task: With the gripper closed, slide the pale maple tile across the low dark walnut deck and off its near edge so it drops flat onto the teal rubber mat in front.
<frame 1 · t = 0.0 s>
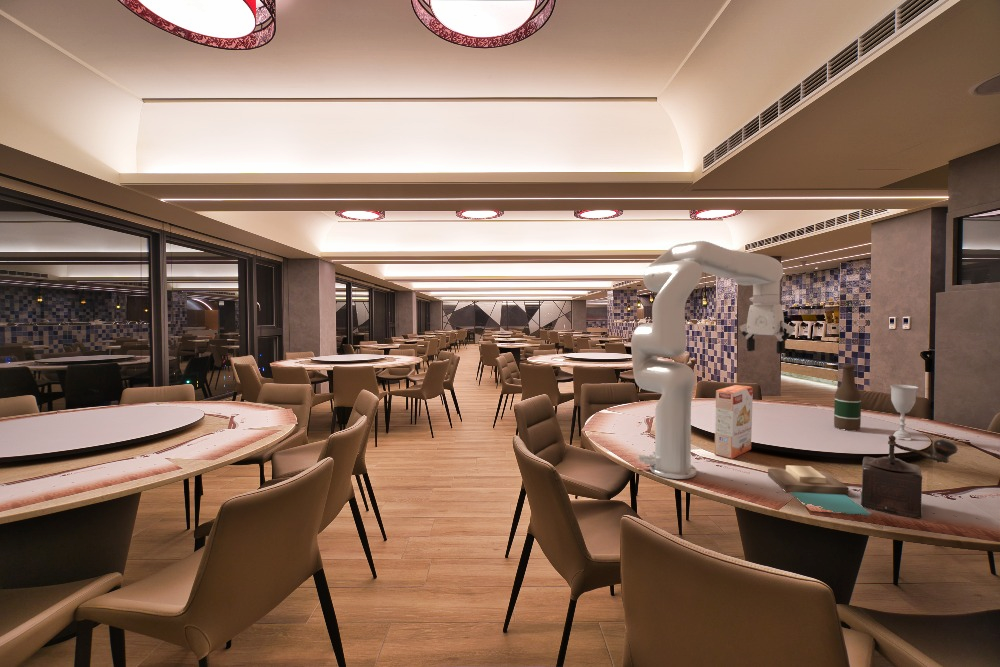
hand: (765, 352, 147), 31 cm above the table, tool pointing down, fingers open, 9 cm apart
brown manual coffee grinder: (904, 509, 102), on the table
cracker box: (733, 453, 141), on the table
beer bottle: (846, 428, 164), on the table
teal mat: (828, 503, 105), on the table
chalice: (901, 438, 152), on the table
walnut deck: (805, 485, 116), on the table
maple tile: (805, 476, 116), point 2 cm above the table, touching walnut deck
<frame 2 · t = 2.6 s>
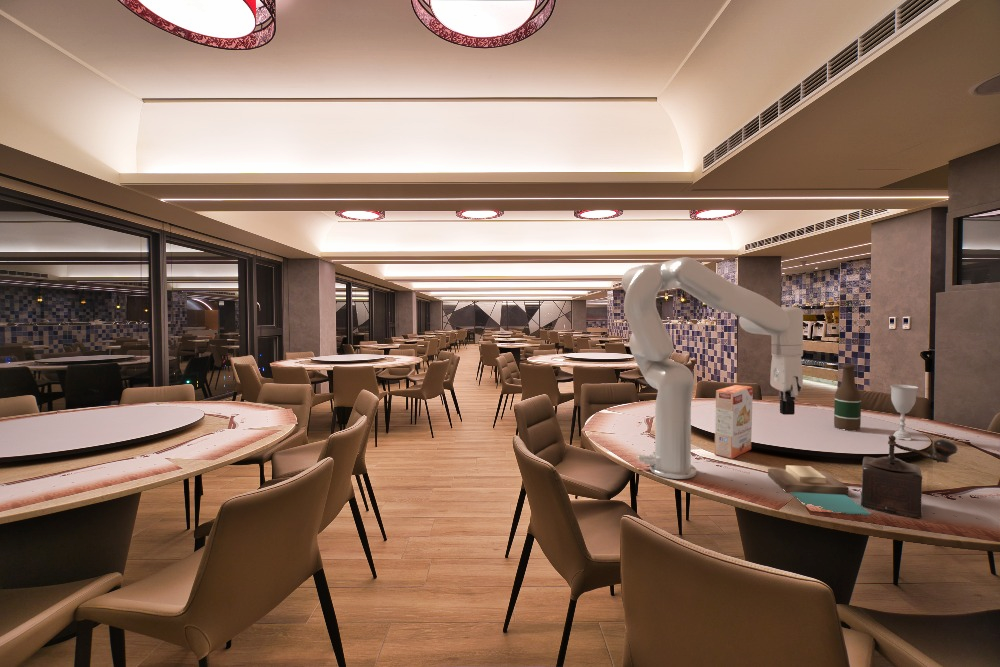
hand: (787, 413, 127), 16 cm above the table, tool pointing down, fingers closed
nothing on the table moved.
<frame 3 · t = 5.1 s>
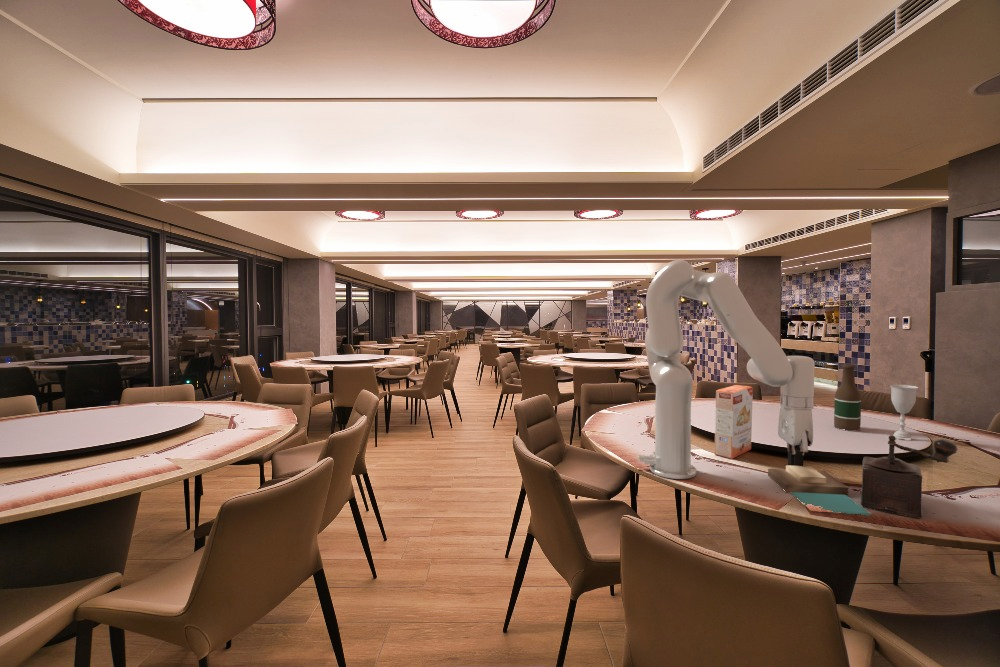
hand: (795, 467, 121), 2 cm above the table, tool pointing down, fingers closed
maple tile: (805, 476, 116), point 2 cm above the table, touching gripper
everything else where it was.
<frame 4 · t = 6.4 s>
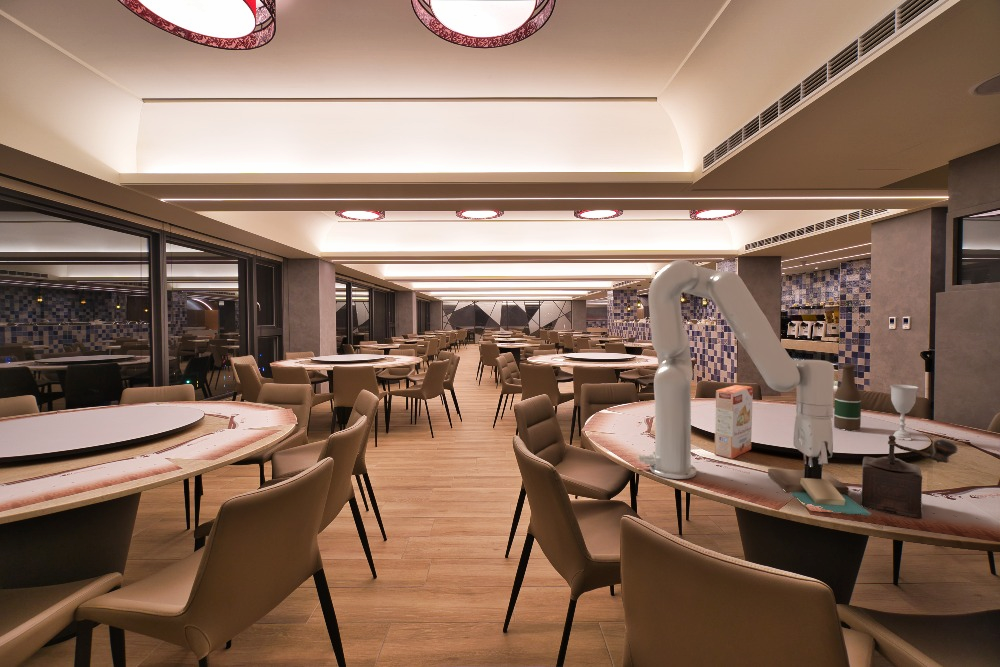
hand: (812, 480, 112), 3 cm above the table, tool pointing down, fingers closed
maple tile: (821, 493, 107), point 1 cm above the table, tilted 13°, touching gripper
everything else where it was.
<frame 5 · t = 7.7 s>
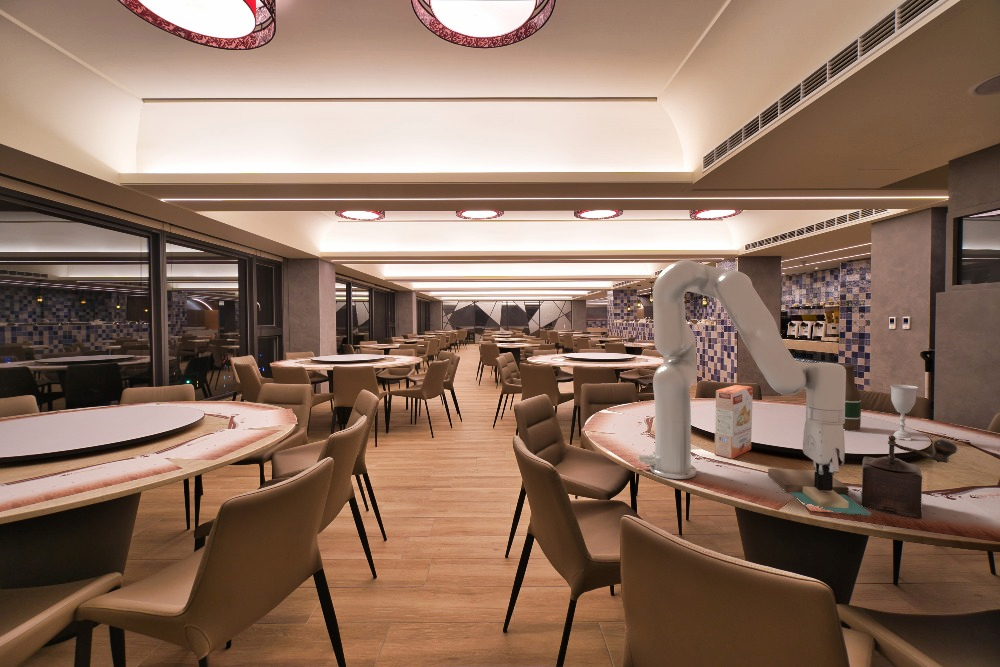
hand: (823, 489, 107), 3 cm above the table, tool pointing down, fingers closed
maple tile: (824, 499, 106), resting on teal mat
everything else where it was.
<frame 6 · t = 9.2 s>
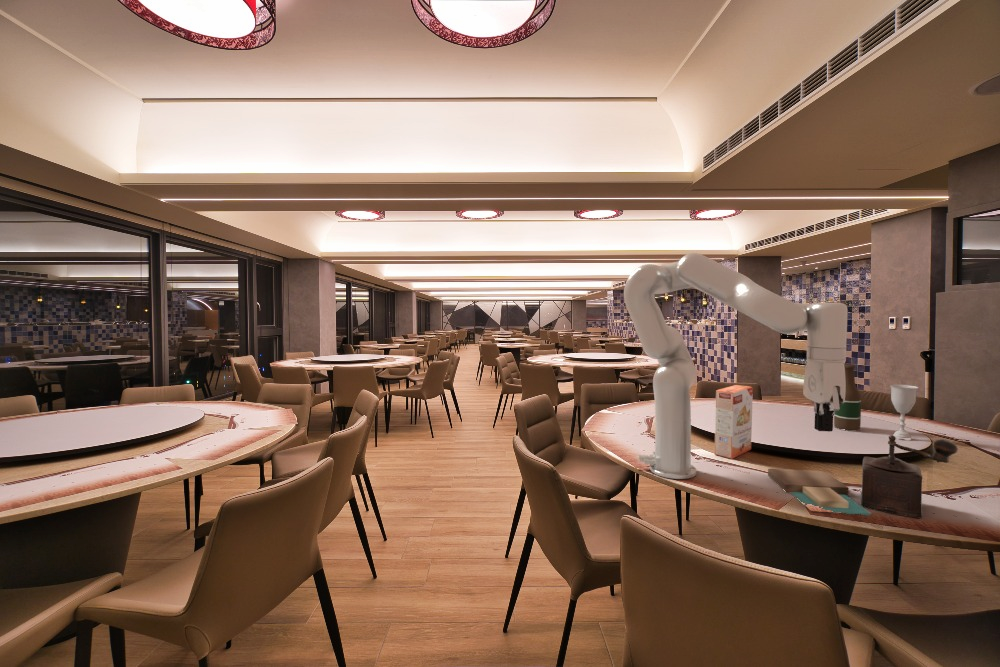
hand: (823, 430, 106), 17 cm above the table, tool pointing down, fingers closed
nothing on the table moved.
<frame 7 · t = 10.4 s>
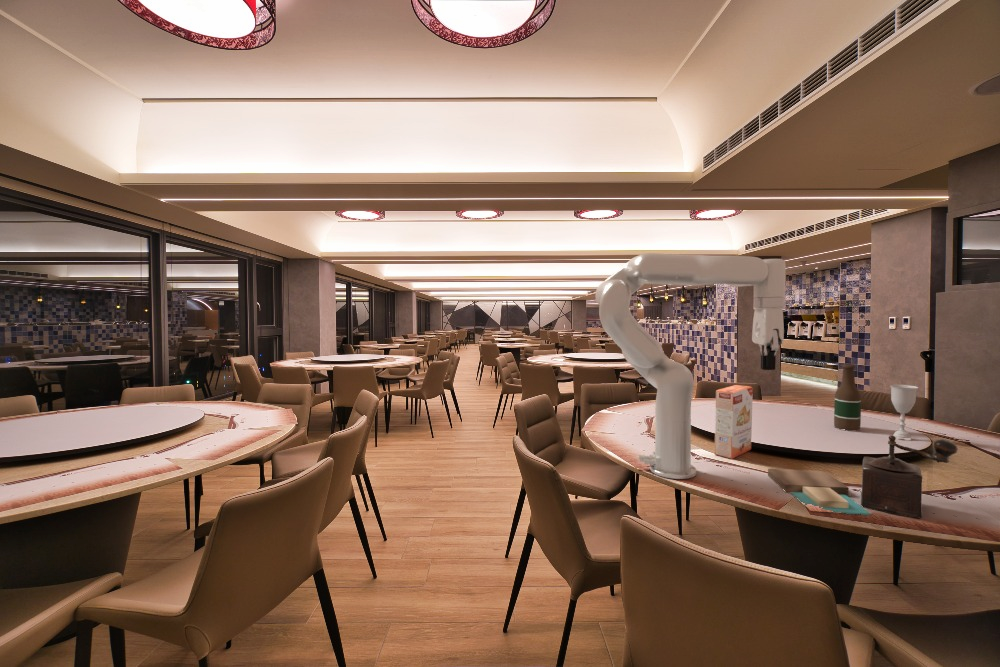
hand: (767, 369, 124), 29 cm above the table, tool pointing down, fingers closed
nothing on the table moved.
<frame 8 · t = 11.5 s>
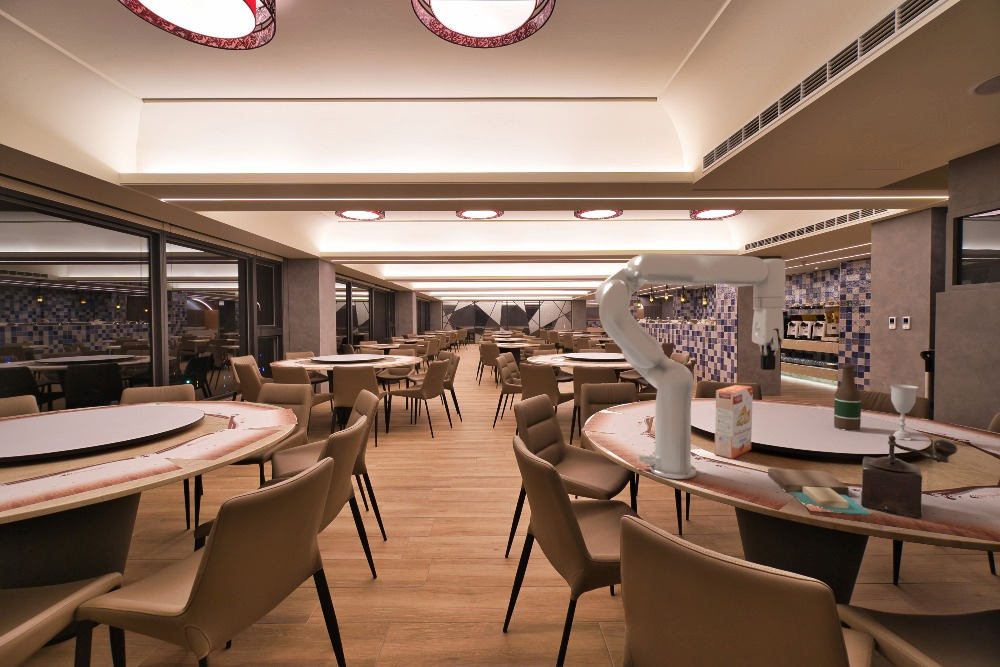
hand: (767, 369, 124), 29 cm above the table, tool pointing down, fingers closed
nothing on the table moved.
at the end: maple tile resting on teal mat; maple tile inside the target area (1.4 cm from its centre), resting on teal mat; maple tile tilted 0° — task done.
